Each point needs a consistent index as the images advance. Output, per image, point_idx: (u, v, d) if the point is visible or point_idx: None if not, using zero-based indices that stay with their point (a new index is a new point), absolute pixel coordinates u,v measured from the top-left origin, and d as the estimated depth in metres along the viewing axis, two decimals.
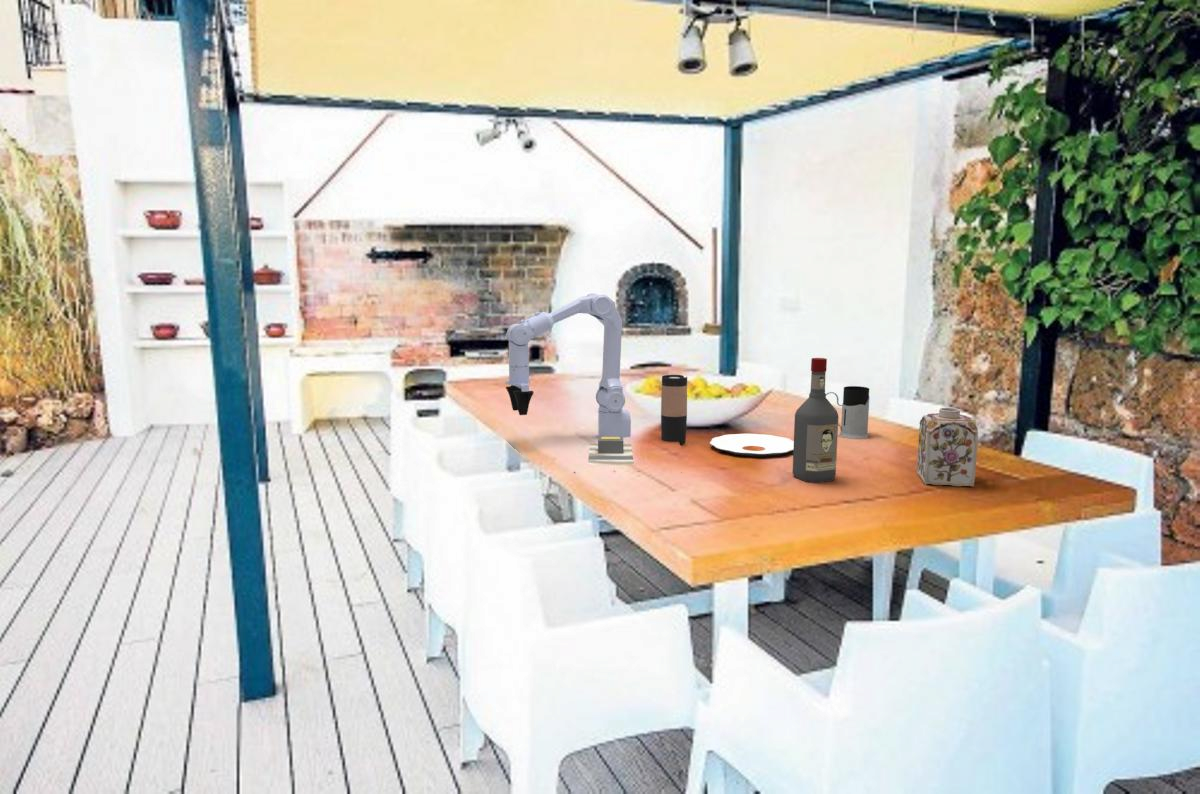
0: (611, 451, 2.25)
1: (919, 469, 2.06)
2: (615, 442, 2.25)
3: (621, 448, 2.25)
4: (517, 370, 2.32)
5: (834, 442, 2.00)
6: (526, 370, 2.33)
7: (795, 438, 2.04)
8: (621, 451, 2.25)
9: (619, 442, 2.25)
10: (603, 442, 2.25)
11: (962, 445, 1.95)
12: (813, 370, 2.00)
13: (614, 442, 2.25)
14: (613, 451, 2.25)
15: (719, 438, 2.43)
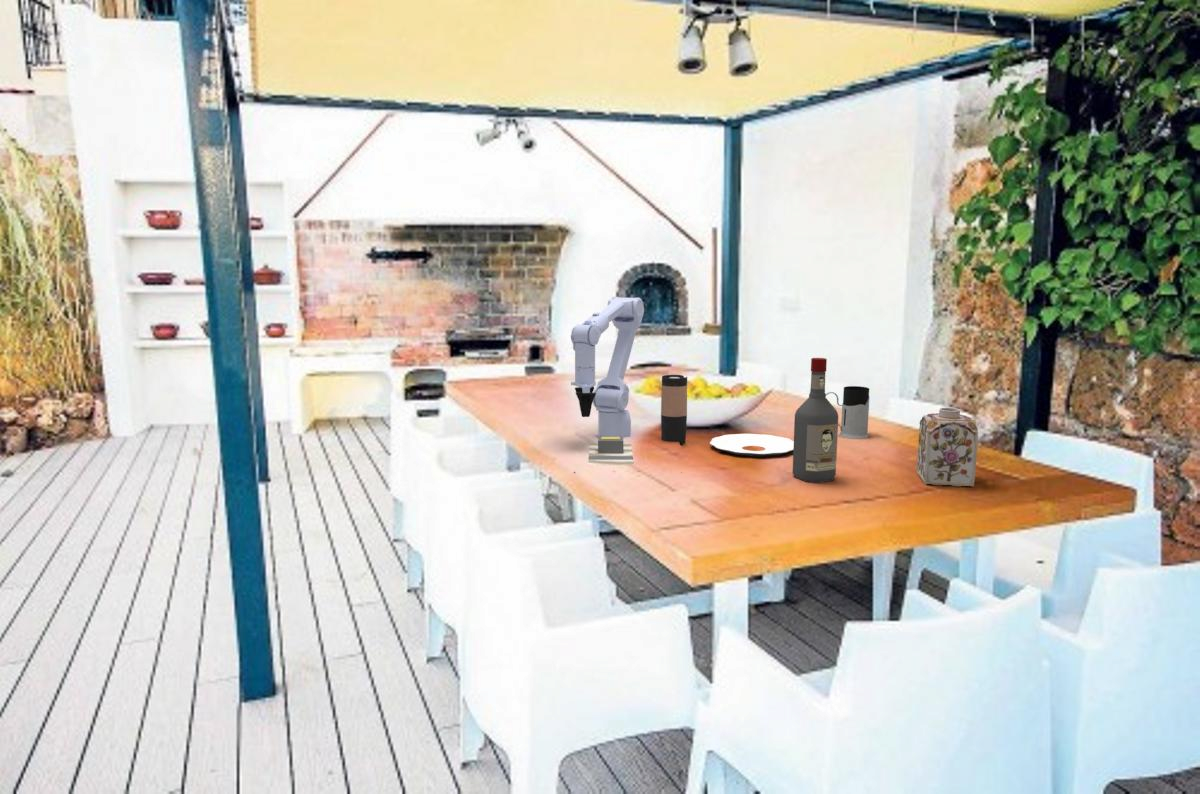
0: (611, 451, 2.25)
1: (919, 469, 2.06)
2: (615, 442, 2.25)
3: (621, 448, 2.25)
4: (581, 371, 2.29)
5: (834, 442, 2.00)
6: (591, 371, 2.29)
7: (795, 438, 2.04)
8: (621, 451, 2.25)
9: (619, 442, 2.25)
10: (603, 442, 2.25)
11: (962, 445, 1.95)
12: (813, 370, 2.00)
13: (614, 442, 2.25)
14: (613, 451, 2.25)
15: (719, 438, 2.43)
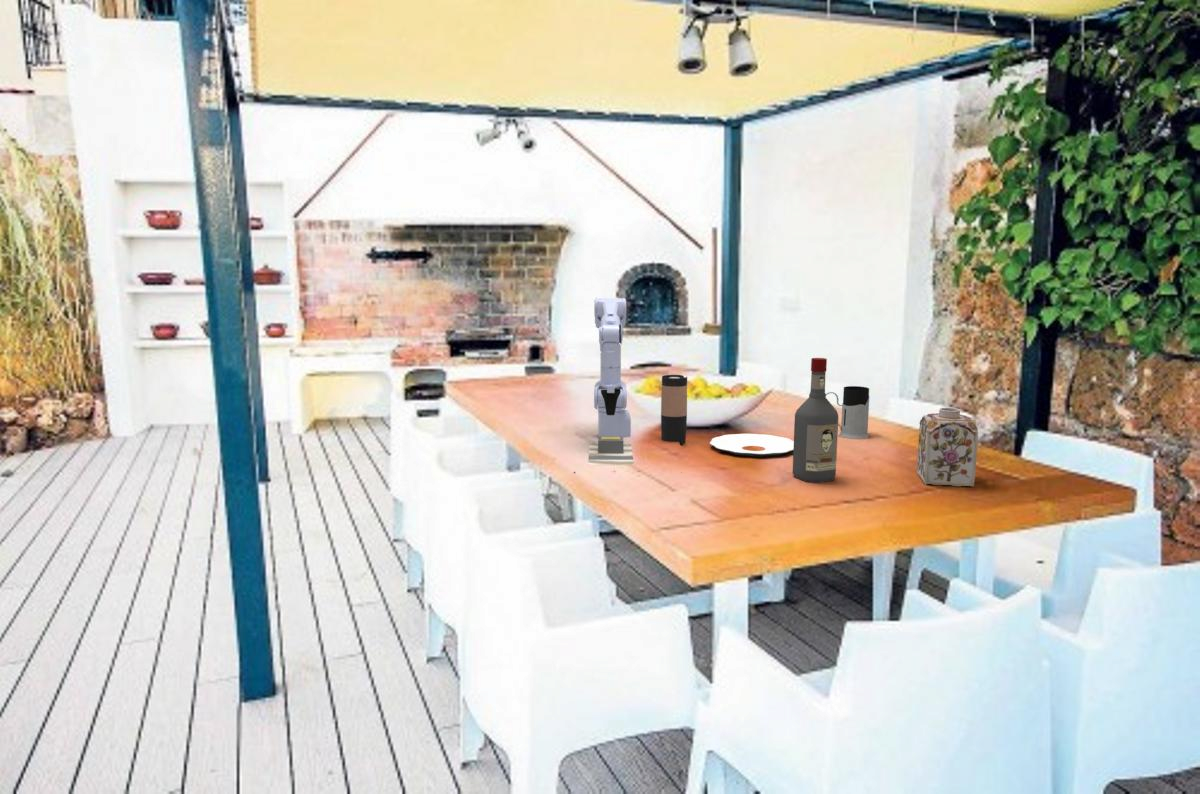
0: (611, 451, 2.25)
1: (919, 469, 2.06)
2: (615, 442, 2.25)
3: (621, 448, 2.25)
4: (606, 371, 2.28)
5: (834, 442, 2.00)
6: (616, 371, 2.28)
7: (795, 438, 2.04)
8: (621, 451, 2.25)
9: (619, 442, 2.25)
10: (603, 442, 2.25)
11: (962, 445, 1.95)
12: (813, 370, 2.00)
13: (614, 442, 2.25)
14: (613, 451, 2.25)
15: (719, 438, 2.43)
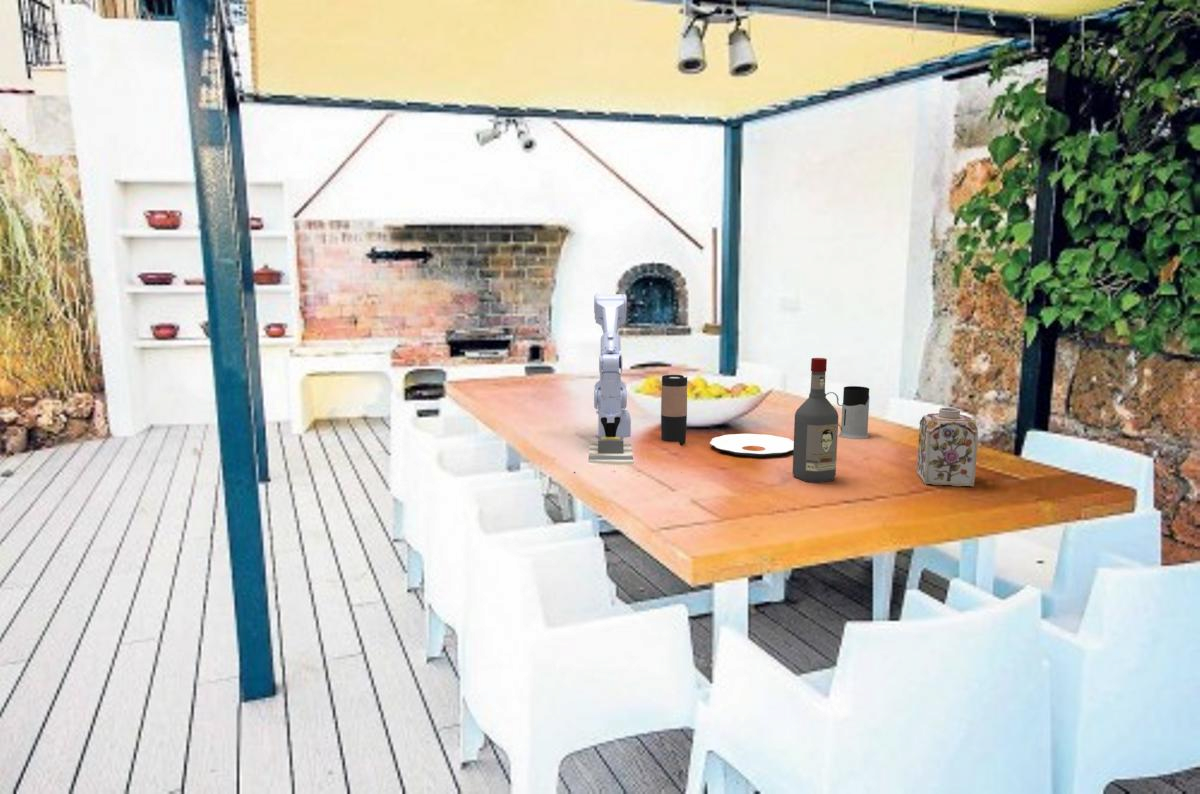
0: (611, 451, 2.25)
1: (919, 469, 2.06)
2: (615, 442, 2.25)
3: (621, 448, 2.25)
4: (606, 400, 2.29)
5: (834, 442, 2.00)
6: (616, 400, 2.29)
7: (795, 438, 2.04)
8: (621, 451, 2.25)
9: (619, 442, 2.25)
10: (603, 442, 2.25)
11: (962, 445, 1.95)
12: (813, 370, 2.00)
13: (614, 442, 2.25)
14: (613, 451, 2.25)
15: (719, 438, 2.43)
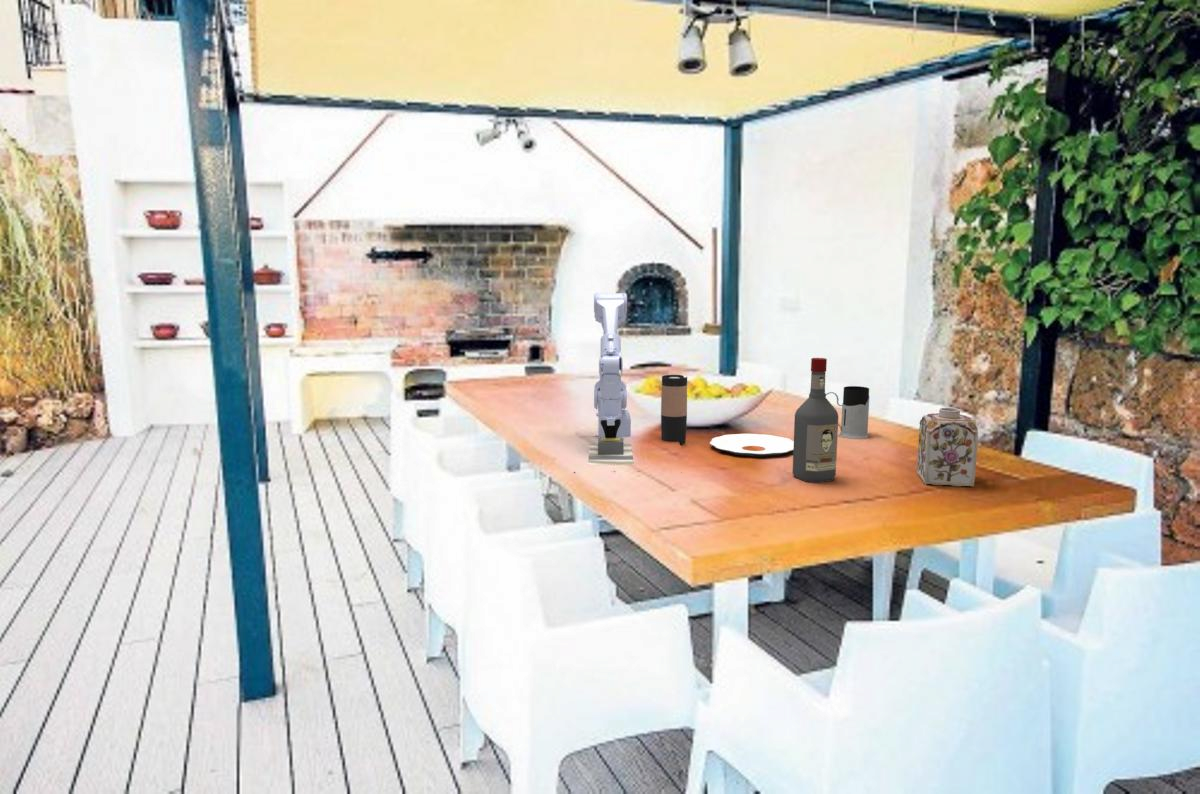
0: (611, 452, 2.24)
1: (919, 469, 2.06)
2: (615, 443, 2.23)
3: (621, 449, 2.24)
4: (606, 402, 2.25)
5: (834, 442, 2.00)
6: (616, 403, 2.26)
7: (795, 438, 2.04)
8: (621, 452, 2.24)
9: (619, 443, 2.23)
10: (603, 443, 2.23)
11: (962, 445, 1.95)
12: (813, 370, 2.00)
13: (614, 443, 2.23)
14: (613, 452, 2.24)
15: (719, 438, 2.43)
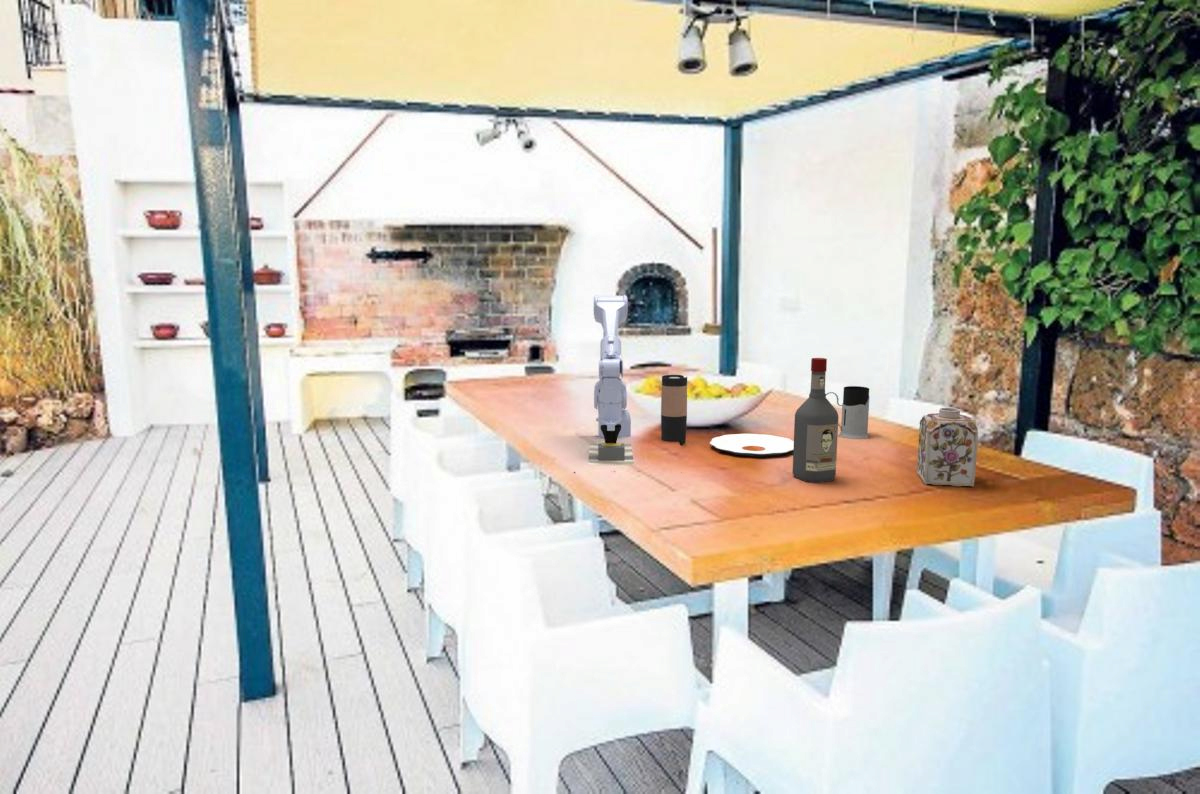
0: (612, 458, 2.17)
1: (919, 469, 2.06)
2: (616, 449, 2.17)
3: (622, 455, 2.17)
4: (606, 407, 2.19)
5: (834, 442, 2.00)
6: (616, 407, 2.19)
7: (795, 438, 2.04)
8: (622, 458, 2.17)
9: (620, 449, 2.17)
10: (603, 449, 2.17)
11: (962, 445, 1.95)
12: (813, 370, 2.00)
13: (615, 449, 2.17)
14: (614, 458, 2.17)
15: (719, 438, 2.43)
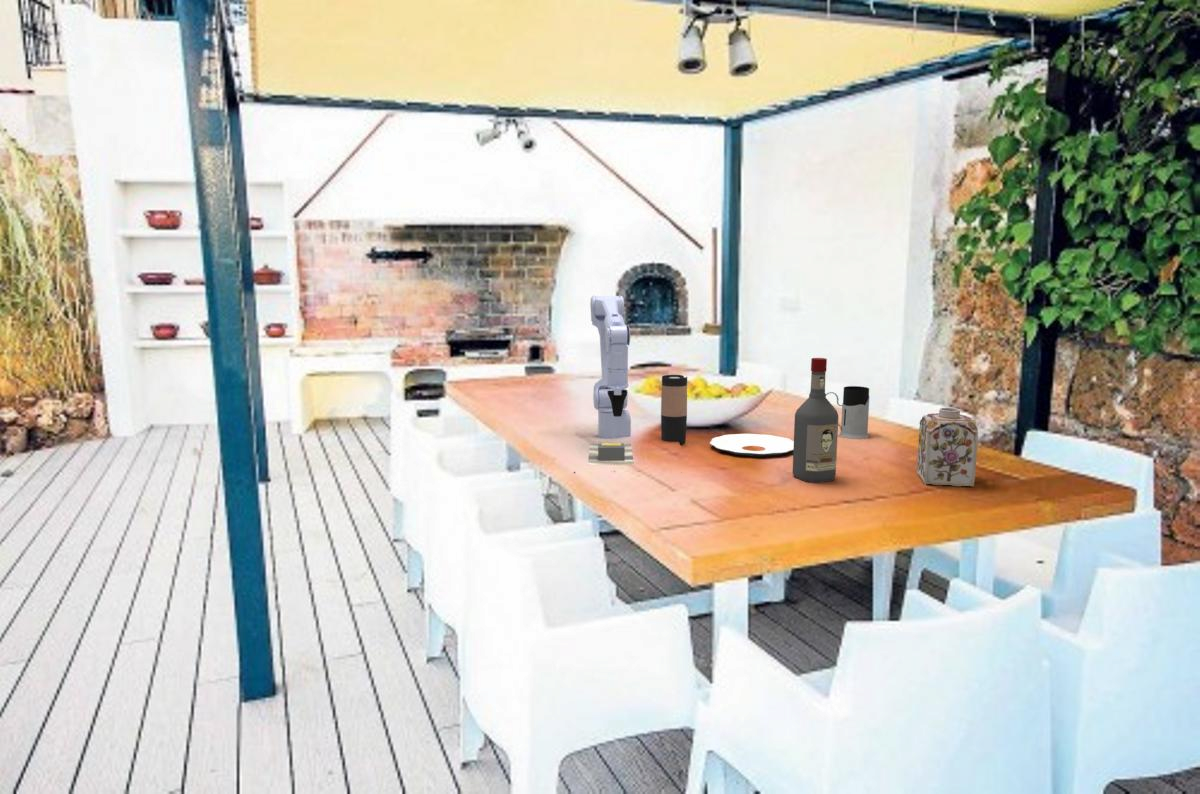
0: (612, 458, 2.17)
1: (919, 469, 2.06)
2: (616, 449, 2.17)
3: (622, 455, 2.17)
4: (613, 372, 2.26)
5: (834, 442, 2.00)
6: (623, 373, 2.26)
7: (795, 438, 2.04)
8: (622, 458, 2.17)
9: (620, 449, 2.17)
10: (603, 449, 2.17)
11: (962, 445, 1.95)
12: (813, 370, 2.00)
13: (615, 449, 2.17)
14: (614, 458, 2.17)
15: (719, 438, 2.43)
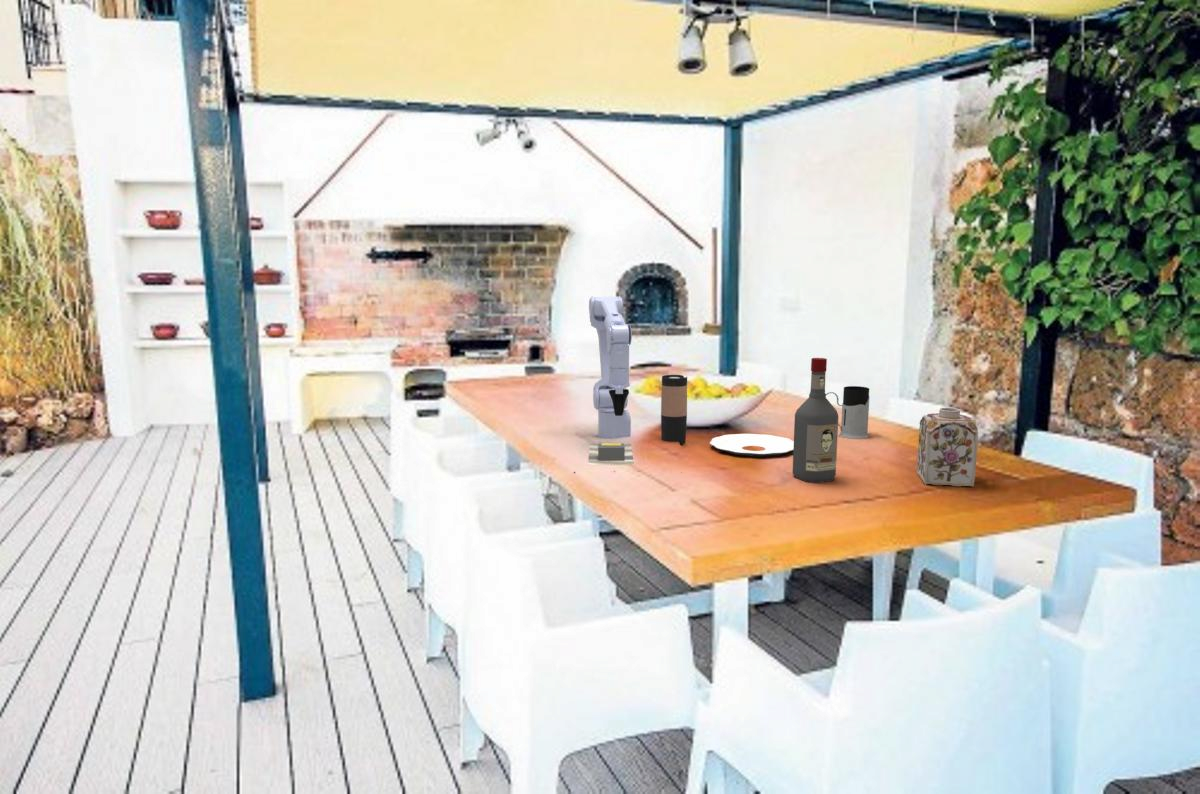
0: (612, 458, 2.17)
1: (919, 469, 2.06)
2: (616, 449, 2.17)
3: (622, 455, 2.17)
4: (615, 372, 2.27)
5: (834, 442, 2.00)
6: (624, 372, 2.27)
7: (795, 438, 2.04)
8: (622, 458, 2.17)
9: (620, 449, 2.17)
10: (603, 449, 2.17)
11: (962, 445, 1.95)
12: (813, 370, 2.00)
13: (615, 449, 2.17)
14: (614, 458, 2.17)
15: (719, 438, 2.43)
